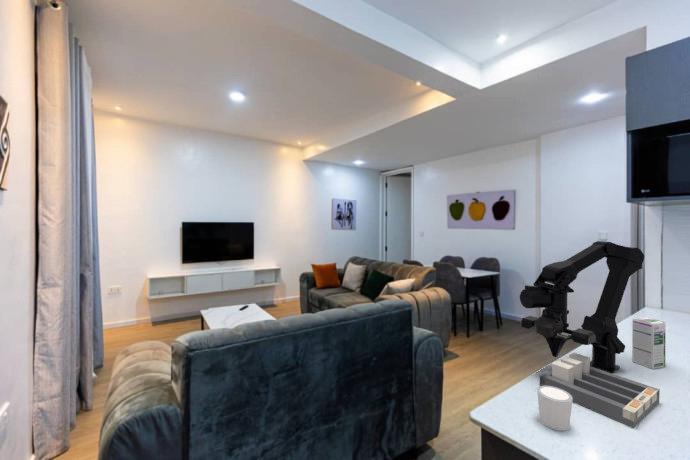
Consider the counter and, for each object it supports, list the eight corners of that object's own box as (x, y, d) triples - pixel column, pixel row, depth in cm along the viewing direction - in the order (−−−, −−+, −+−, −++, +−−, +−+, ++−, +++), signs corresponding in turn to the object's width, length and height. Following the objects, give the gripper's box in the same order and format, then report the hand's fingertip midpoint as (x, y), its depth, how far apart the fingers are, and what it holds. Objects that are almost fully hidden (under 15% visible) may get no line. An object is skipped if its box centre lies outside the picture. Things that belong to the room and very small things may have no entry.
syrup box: (653, 369, 96) (654, 323, 96) (631, 361, 102) (632, 317, 101) (665, 367, 98) (666, 322, 97) (643, 359, 103) (644, 316, 103)
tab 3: (573, 369, 93) (573, 352, 93) (589, 375, 90) (589, 357, 89) (568, 372, 91) (568, 355, 91) (584, 378, 88) (585, 360, 88)
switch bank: (569, 370, 96) (569, 358, 96) (659, 402, 79) (659, 388, 79) (539, 387, 86) (539, 374, 86) (633, 428, 69) (634, 411, 69)
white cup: (557, 412, 75) (558, 384, 75) (580, 432, 68) (580, 401, 68) (530, 413, 75) (530, 385, 75) (549, 433, 68) (550, 402, 68)
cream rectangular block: (557, 379, 88) (557, 360, 87) (573, 385, 84) (574, 366, 84) (551, 382, 86) (552, 363, 86) (568, 388, 83) (568, 369, 82)
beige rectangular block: (565, 374, 90) (566, 356, 90) (581, 380, 87) (582, 361, 87) (560, 377, 89) (560, 359, 88) (576, 383, 85) (577, 364, 85)
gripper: (511, 303, 99) (510, 351, 99) (579, 319, 83) (578, 376, 84) (529, 298, 105) (529, 344, 105) (596, 312, 89) (595, 366, 89)
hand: (555, 356), depth 96 cm, fingers closed
